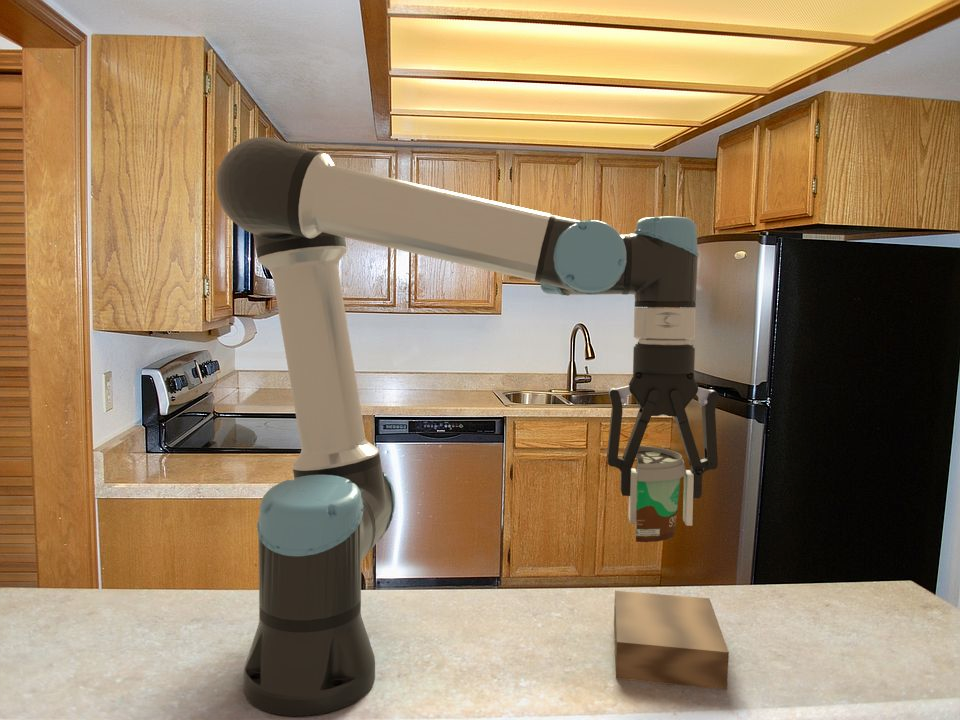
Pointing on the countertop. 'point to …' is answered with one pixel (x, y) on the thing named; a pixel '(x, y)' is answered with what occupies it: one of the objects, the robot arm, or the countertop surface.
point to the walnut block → (669, 640)
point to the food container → (657, 493)
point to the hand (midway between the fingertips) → (659, 521)
